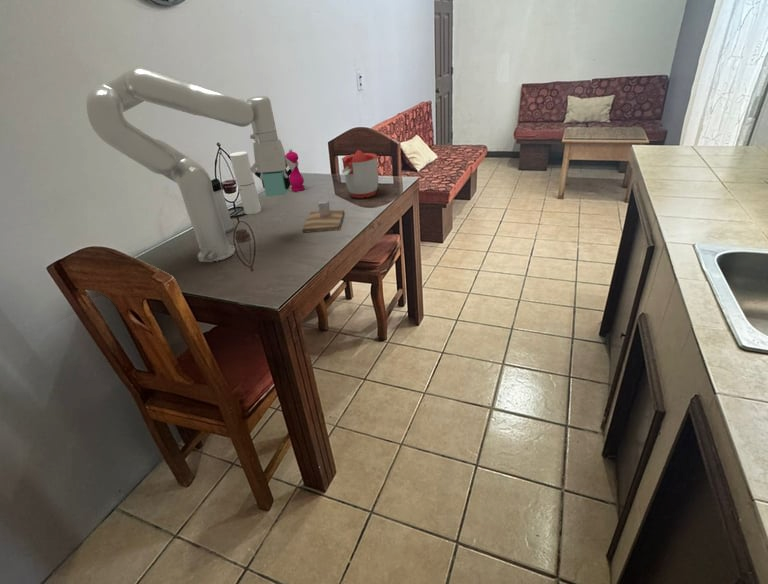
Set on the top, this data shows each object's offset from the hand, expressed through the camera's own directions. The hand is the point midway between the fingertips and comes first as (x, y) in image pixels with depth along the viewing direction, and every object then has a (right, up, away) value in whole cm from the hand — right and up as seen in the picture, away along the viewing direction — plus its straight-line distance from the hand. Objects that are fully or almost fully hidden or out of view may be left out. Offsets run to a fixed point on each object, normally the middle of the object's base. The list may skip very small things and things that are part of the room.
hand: (277, 188), depth 150 cm
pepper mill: (-5, +14, +59) cm, 60 cm away
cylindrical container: (-20, -1, +36) cm, 41 cm away
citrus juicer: (+28, +7, +43) cm, 52 cm away
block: (+15, -6, +19) cm, 25 cm away
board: (+15, -9, +17) cm, 24 cm away
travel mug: (-25, -12, +18) cm, 34 cm away
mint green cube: (0, -1, +1) cm, 1 cm away
